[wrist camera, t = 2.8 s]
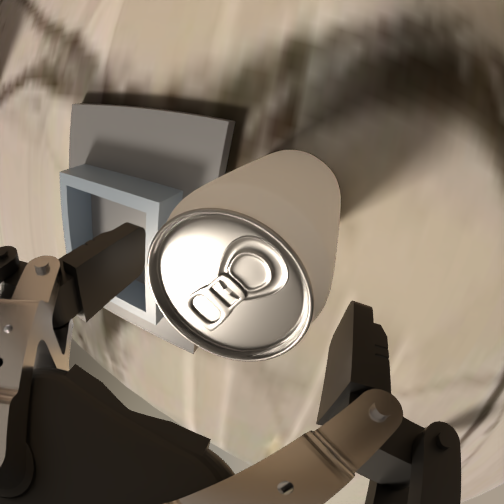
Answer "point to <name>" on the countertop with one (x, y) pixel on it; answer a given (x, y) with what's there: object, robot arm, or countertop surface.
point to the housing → (137, 184)
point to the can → (249, 257)
